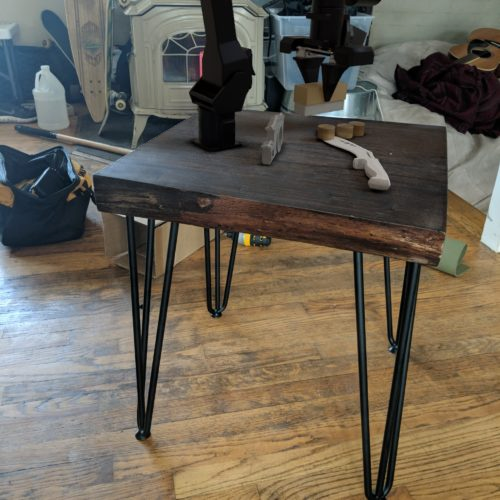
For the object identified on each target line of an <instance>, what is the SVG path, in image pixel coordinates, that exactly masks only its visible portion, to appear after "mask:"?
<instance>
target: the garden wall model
mask: <svg viewBox="0 0 500 500" xmlns="http://www.w3.org/2000/svg"><path fill="white" fill-rule="evenodd" d="M285 117H286V115H285V114H283V112H280V113H276V114H274V115H271V117H270V119H269V121H268V123H267V125H266V127H264V130H266V131H267V132H266V141H263V143H262V145H261V146H260V148H261V149H262V150H261V162H262V165H268V166H269V165H271V164H272V162H273V160H274V158H275V157H276V155H277V154H278V153H280V152H281V150H282V145H283V141H284V140H283V139H284V124H285V123H284V121H285Z"/></svg>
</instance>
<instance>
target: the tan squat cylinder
mask: <svg viewBox="0 0 500 500" xmlns="http://www.w3.org/2000/svg"><path fill="white" fill-rule="evenodd" d="M334 136H336V126H335V125H332V124H330V123H329V124H327V123H322V124H319V125H318V126H317V136H316V137H317V139H319V140H322V139H323V140H331V139H334ZM323 140H322V141H323Z"/></svg>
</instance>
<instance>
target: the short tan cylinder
mask: <svg viewBox="0 0 500 500" xmlns="http://www.w3.org/2000/svg"><path fill="white" fill-rule="evenodd" d="M353 128H354V126H353V125H351V124H348V123H338V124H337V125H336V127H335V136H336V137H339V138H342V139H345V140H350V139H352V138H353V137H354V136H353Z"/></svg>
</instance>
